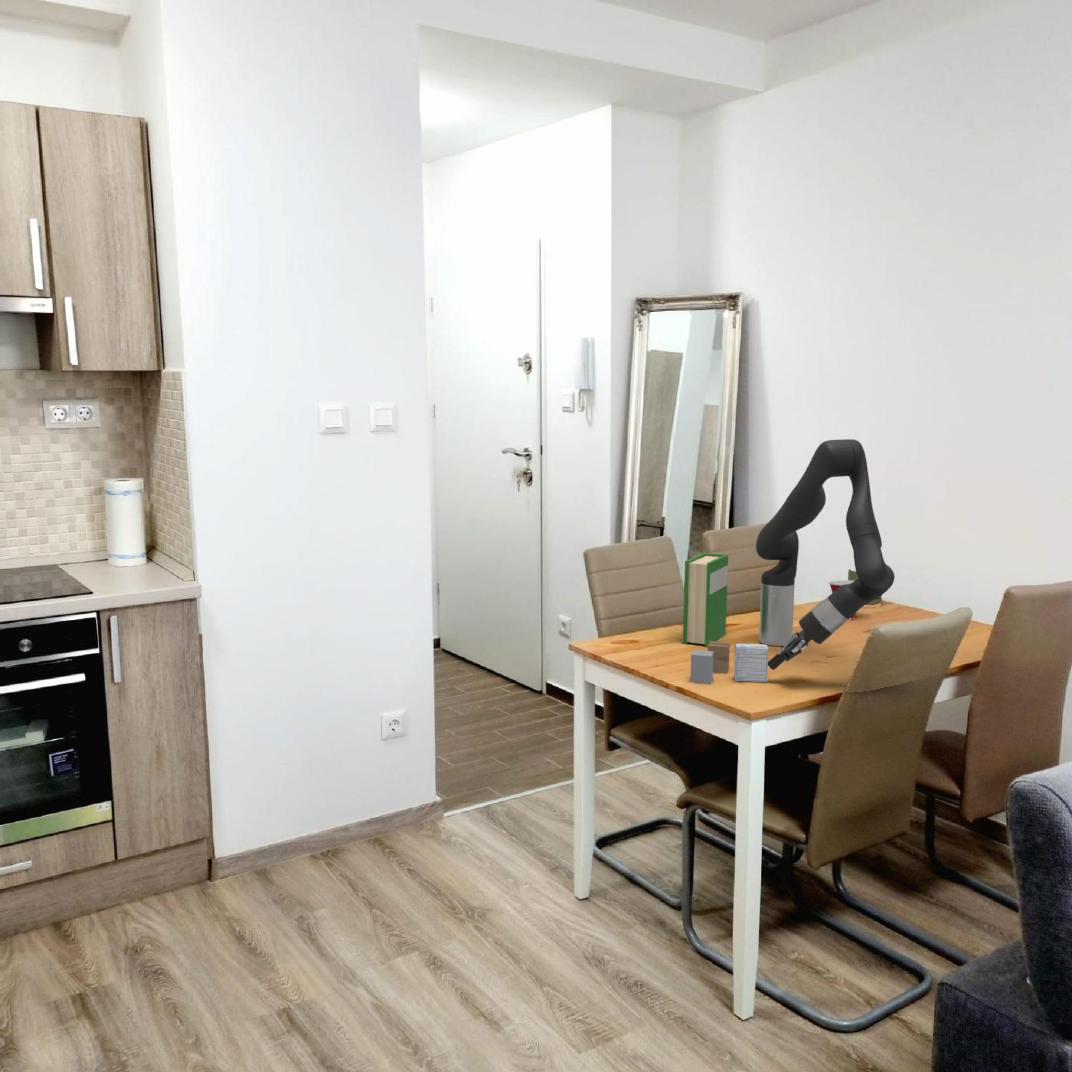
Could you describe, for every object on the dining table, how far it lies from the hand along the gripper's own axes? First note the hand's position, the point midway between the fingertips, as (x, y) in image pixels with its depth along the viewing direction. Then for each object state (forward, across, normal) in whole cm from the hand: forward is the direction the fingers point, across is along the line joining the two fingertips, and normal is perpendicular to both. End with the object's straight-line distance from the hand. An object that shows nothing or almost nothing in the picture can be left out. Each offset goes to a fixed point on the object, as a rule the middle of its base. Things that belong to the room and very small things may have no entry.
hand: (770, 666), depth 253 cm
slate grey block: (+14, +4, -9) cm, 17 cm away
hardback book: (+17, -41, -12) cm, 46 cm away
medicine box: (+6, 0, 0) cm, 6 cm away
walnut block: (+12, -7, -7) cm, 16 cm away
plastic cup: (-12, -85, +17) cm, 87 cm away
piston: (-16, -110, +22) cm, 113 cm away
